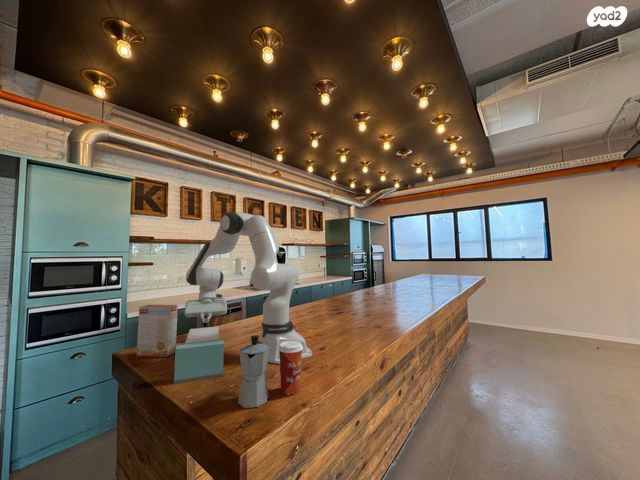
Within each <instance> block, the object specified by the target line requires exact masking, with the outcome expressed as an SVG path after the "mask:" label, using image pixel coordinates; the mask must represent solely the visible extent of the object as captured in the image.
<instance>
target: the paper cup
mask: <svg viewBox="0 0 640 480" xmlns="http://www.w3.org/2000/svg"><path fill="white" fill-rule="evenodd" d="M302 349H303V346H302V344H301V343H300V342H298V341H285V342H282V343H281V344H280V347H279V348H278V350H279V352H280V364H279V369H280V370H279V371H280V389H281V390H280V391H282V392H281V394H283V393H284V394H294V393H296V392H298V391H299V392H300V387H301V372H302V359H301V358H302ZM299 392H298V393H299ZM284 394H283V395H284Z"/></svg>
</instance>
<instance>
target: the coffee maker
mask: <svg viewBox="0 0 640 480" xmlns="http://www.w3.org/2000/svg"><path fill="white" fill-rule="evenodd" d="M250 339H251V343H250V344H246V345H244V346H243V347H240V348H239V358H240V359H239V360H240V370H241V373H242V378H241V382H240V388H239V395H238V402H237V405H238V404H240V405H242V406H243V407H247V408H250V407H252V408H251V409H255V408H254V407H258V406H260V405H262V404H264V403H266V402H267V403H268V400H267V399H269V392H268V383H267V378H266V377H267V376H266V372H267V370H268V363H269V362H268V357H269V349H270V348H269V347H268V346H267V345H264V344H262V340H261V341H259V339H260V336H259V335H258V334H256V335H251V336H250ZM267 403H266V404H267ZM264 405H265V404H264ZM262 406H263V405H262ZM260 407H261V406H260ZM258 408H259V407H258Z"/></svg>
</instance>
